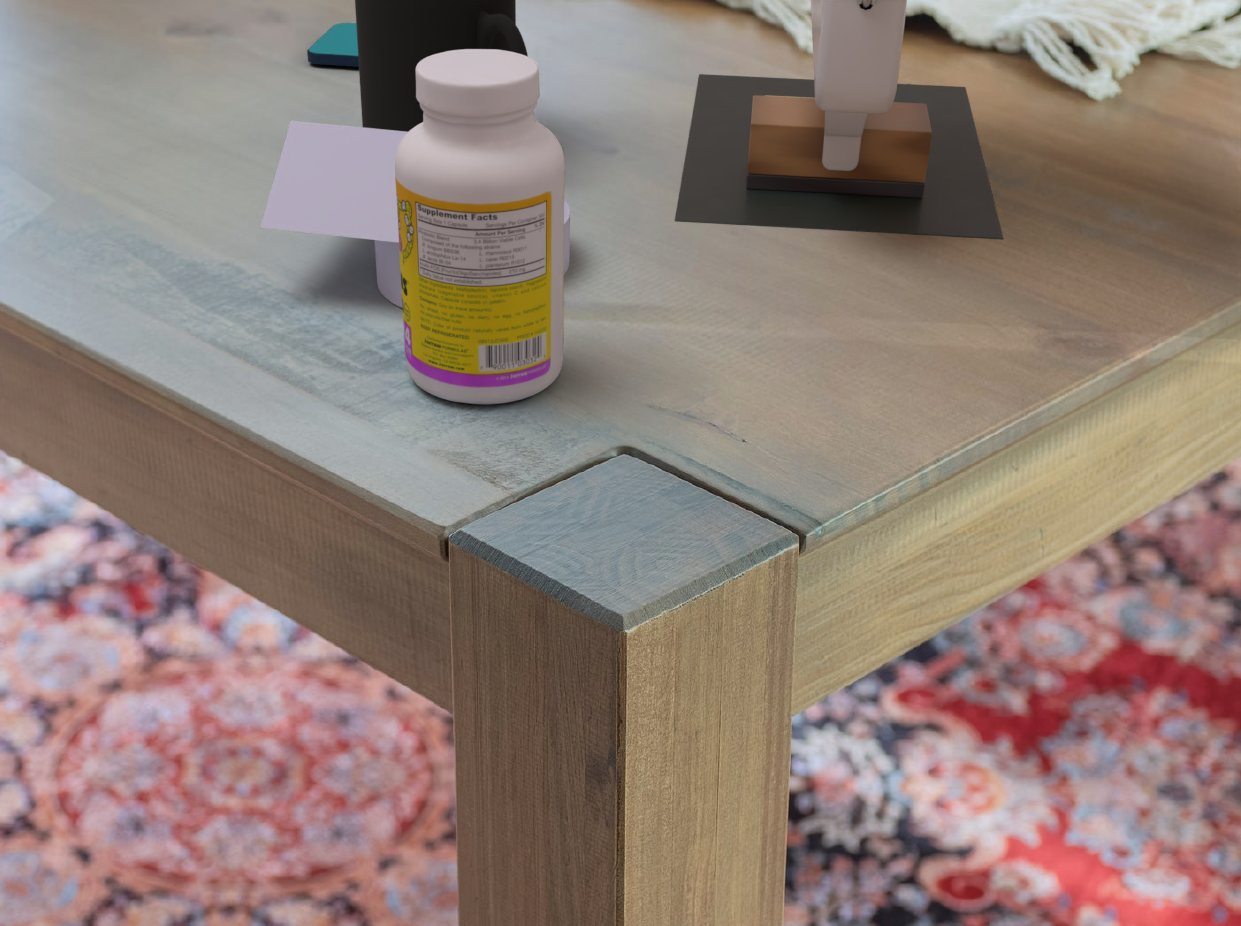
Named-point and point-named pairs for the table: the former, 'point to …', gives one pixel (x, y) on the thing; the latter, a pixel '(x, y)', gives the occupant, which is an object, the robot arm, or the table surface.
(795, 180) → the eraser
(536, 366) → the supplement bottle
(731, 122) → the slate board
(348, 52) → the smartphone
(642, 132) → the table surface
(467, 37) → the mug
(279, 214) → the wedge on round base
